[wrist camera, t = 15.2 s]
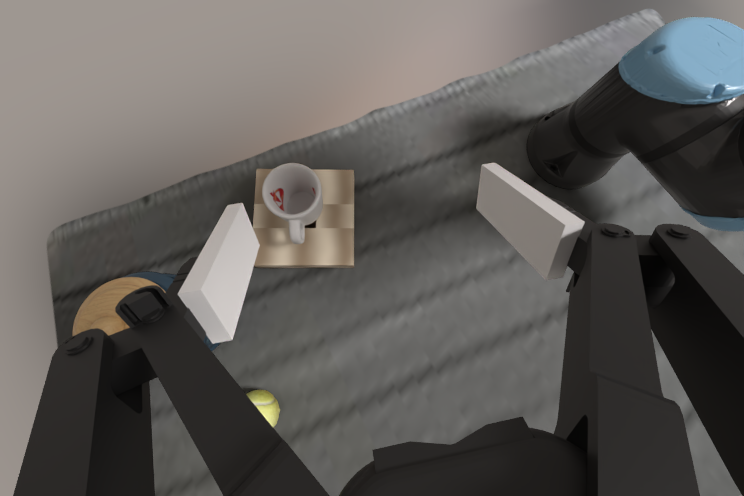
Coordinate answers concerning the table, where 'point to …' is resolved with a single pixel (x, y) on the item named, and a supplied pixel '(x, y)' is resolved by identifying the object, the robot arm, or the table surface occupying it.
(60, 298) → the table surface
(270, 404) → the tennis ball
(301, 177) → the cup
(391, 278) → the table surface
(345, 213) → the opening block
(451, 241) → the table surface
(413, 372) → the table surface
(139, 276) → the canister
